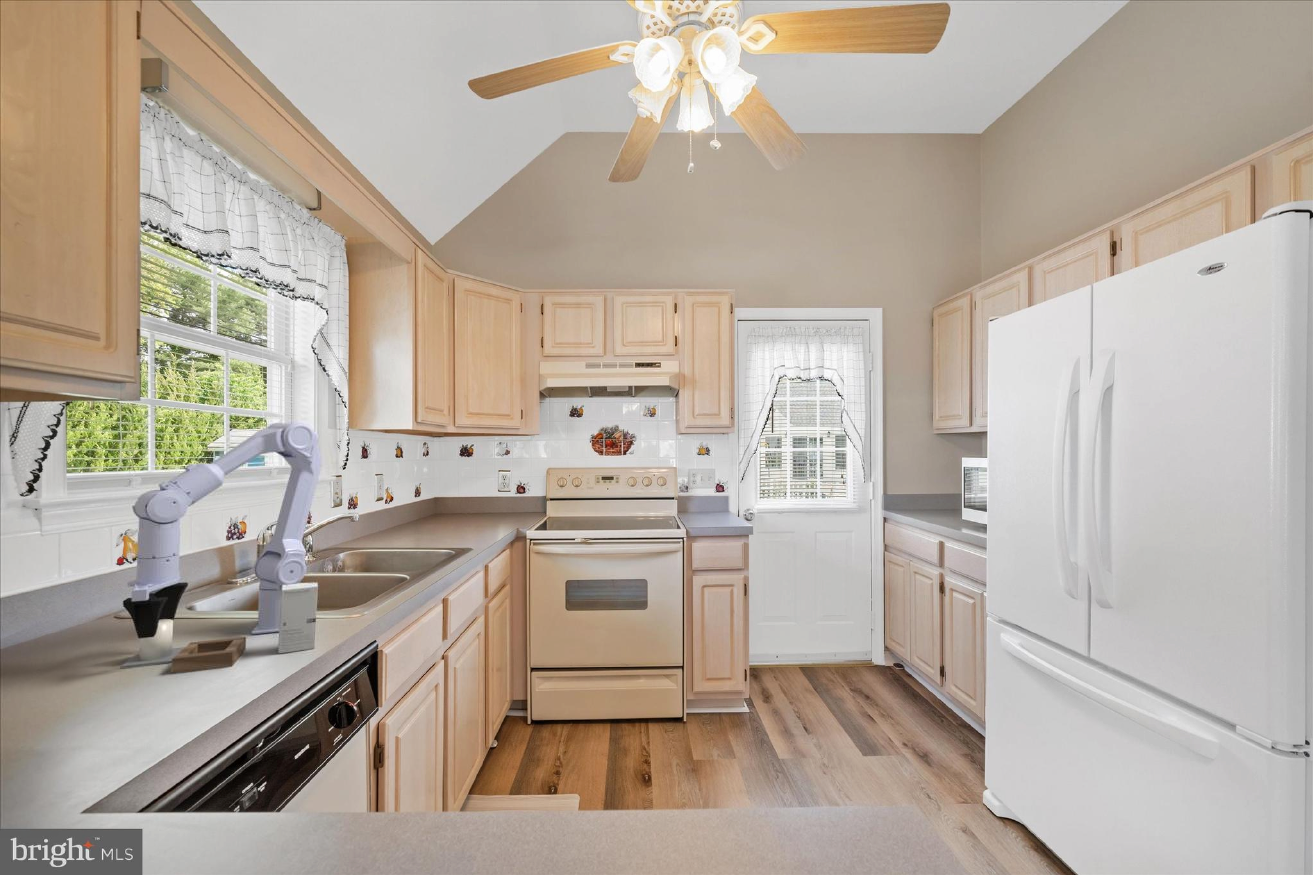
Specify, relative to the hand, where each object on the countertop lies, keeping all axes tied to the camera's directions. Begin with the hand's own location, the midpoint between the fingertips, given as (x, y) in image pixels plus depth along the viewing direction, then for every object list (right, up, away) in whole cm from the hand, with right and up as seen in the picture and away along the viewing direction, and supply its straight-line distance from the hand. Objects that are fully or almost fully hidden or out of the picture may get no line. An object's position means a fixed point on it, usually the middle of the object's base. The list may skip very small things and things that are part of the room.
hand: (156, 630), depth 99 cm
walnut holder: (+11, -5, -1) cm, 12 cm away
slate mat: (0, -5, 0) cm, 5 cm away
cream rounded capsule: (0, -5, 0) cm, 5 cm away
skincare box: (+22, -6, +6) cm, 23 cm away
